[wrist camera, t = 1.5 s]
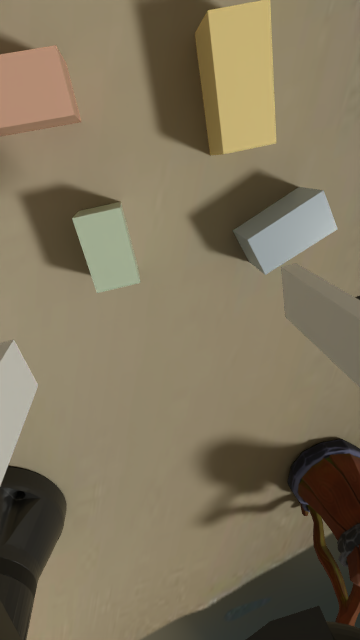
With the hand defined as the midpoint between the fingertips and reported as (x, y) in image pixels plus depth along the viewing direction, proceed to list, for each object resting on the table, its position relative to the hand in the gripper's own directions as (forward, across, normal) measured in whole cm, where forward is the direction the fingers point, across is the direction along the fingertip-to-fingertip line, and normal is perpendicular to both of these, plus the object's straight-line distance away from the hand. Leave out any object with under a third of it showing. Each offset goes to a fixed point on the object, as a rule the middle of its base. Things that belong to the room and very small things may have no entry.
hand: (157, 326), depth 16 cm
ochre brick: (+16, +10, +10) cm, 21 cm away
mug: (+16, +15, -40) cm, 46 cm away
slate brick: (+16, +13, -1) cm, 20 cm away
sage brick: (+16, -2, +2) cm, 16 cm away
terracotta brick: (+16, -5, +13) cm, 21 cm away
